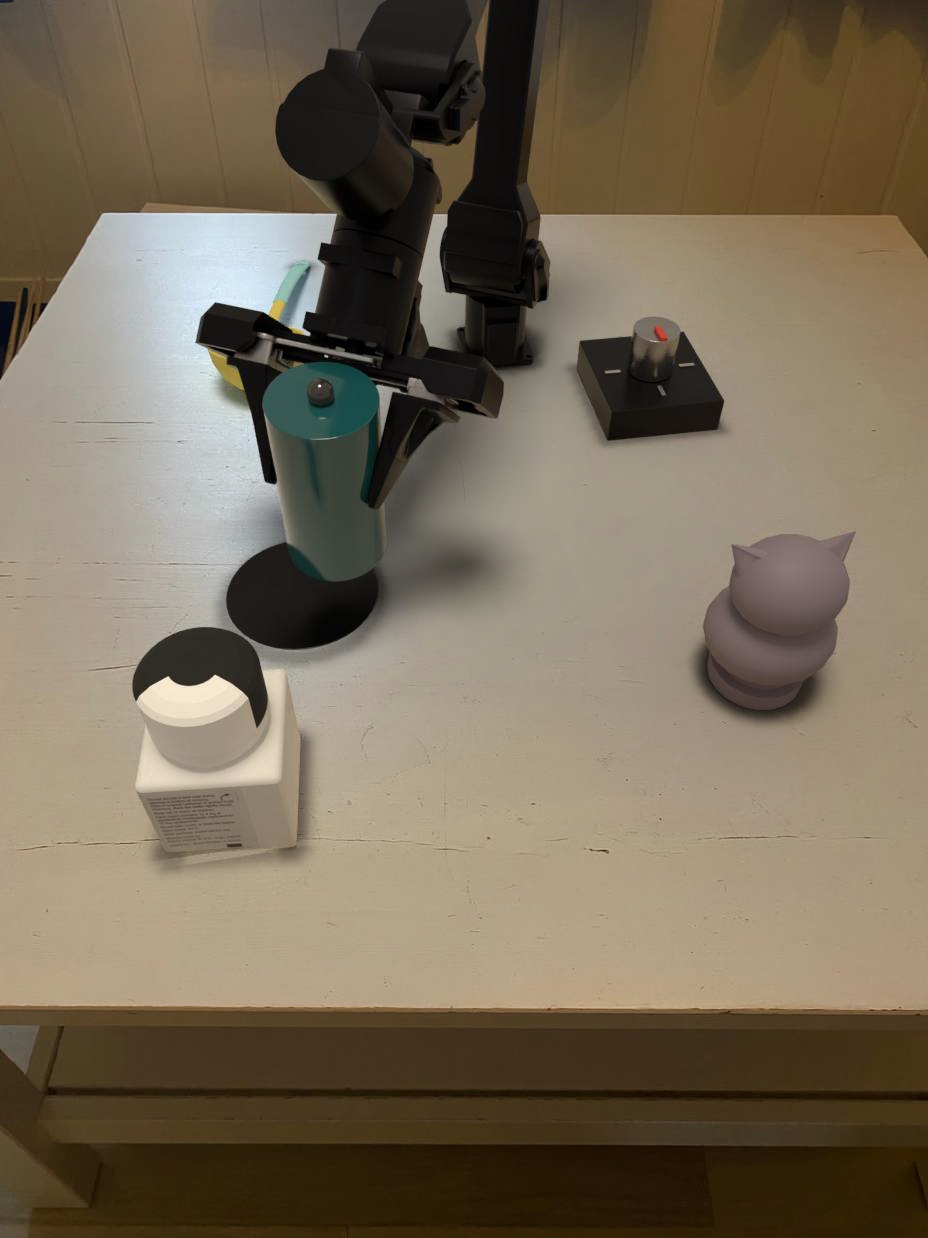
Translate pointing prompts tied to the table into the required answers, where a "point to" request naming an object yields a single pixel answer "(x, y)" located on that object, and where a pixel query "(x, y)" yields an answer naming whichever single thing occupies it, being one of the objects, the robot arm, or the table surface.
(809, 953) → the table surface
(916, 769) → the table surface
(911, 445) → the table surface
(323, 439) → the teal lidded canister
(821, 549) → the cat figurine
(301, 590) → the disc
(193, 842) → the container
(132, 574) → the table surface
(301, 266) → the ladle
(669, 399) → the panel
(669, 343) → the knob
